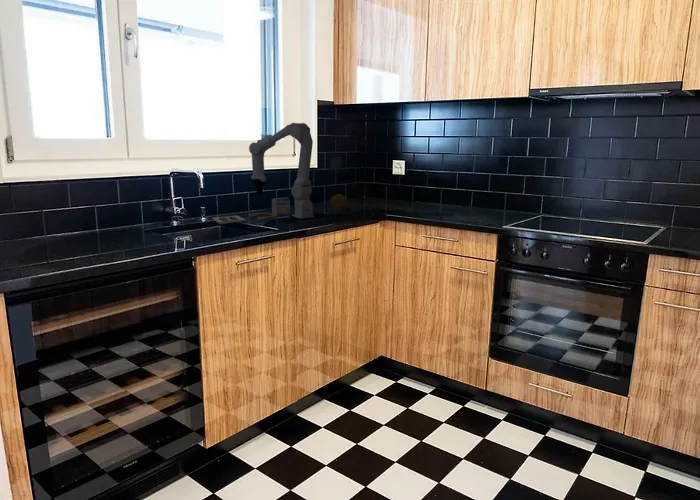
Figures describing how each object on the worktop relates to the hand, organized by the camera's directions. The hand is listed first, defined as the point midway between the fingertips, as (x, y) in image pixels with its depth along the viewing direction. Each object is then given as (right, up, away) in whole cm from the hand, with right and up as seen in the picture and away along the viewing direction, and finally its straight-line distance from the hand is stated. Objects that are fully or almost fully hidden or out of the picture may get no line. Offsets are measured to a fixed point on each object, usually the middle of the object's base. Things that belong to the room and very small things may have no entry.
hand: (259, 194), depth 249 cm
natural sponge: (+40, -10, -1) cm, 41 cm away
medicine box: (+12, -11, -5) cm, 17 cm away
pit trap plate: (-11, -14, -18) cm, 25 cm away
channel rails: (+4, -12, -9) cm, 16 cm away
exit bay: (+11, -11, -5) cm, 16 cm away
